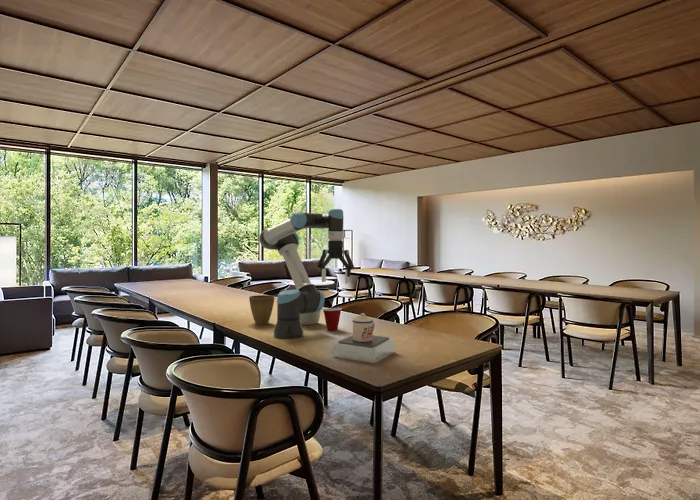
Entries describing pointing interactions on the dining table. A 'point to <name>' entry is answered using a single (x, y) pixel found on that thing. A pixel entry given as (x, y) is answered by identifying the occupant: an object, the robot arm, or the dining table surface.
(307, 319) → the canister
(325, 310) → the plastic cup
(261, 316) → the plant pot
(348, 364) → the dining table surface
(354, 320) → the teacup with lid
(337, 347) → the white flat block
